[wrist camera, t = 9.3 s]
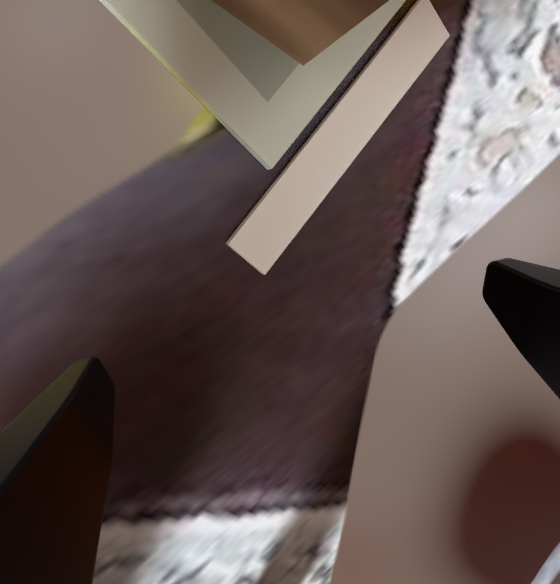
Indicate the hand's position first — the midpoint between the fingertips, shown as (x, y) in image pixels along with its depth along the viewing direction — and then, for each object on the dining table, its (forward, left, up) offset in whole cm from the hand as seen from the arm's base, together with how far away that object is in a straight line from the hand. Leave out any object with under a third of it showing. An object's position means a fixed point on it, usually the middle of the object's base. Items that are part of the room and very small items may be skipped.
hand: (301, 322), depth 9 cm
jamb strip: (+9, -1, -10) cm, 14 cm away
